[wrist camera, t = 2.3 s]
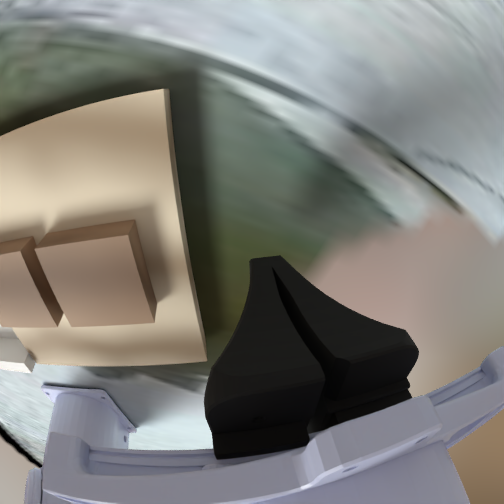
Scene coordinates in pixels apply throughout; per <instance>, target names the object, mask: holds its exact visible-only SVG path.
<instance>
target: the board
mask: <svg viewBox="0 0 504 504" xmlns="http://www.w3.org/2000/svg"><path fill="white" fill-rule="evenodd" d="M133 219H135V221H136V226H137V230H138V234H139V238H140V242H141V246H142V250H143V254H144V258H145V262H146V266H147V269H148V273H149V277H150V280H151V284H152V287H153V291H154V294H155V297H156V301H157V309H156V316H155V323H146V324H132V325H114V326H93V327H71V325H70V324H69V322H68V320H67V318H66V316H65V314H63V316H62V319H61V321H60V323H59V326H58V327H56V328H17V327H12V329H13V331H14V332H15V334H16V335H17V337H18V338H19V340H20V341H21V343H22V344H23V345H24V347H25V348H26V350H27V351H28V352H29V354H30V355H31V357H32V358H33V359H34V361H35V362H36V363H37V364H48V365H67V366H145V365H165V364H180V363H193V362H204V361H207V351H206V338H205V333H204V329H203V324H202V319H201V314H200V309H199V304H198V299H197V294H196V289H195V283H194V278H193V272H192V267H191V261H190V255H189V249H188V243H187V237H186V231H185V224H184V218H183V211H182V204H181V196H180V189H179V181H178V173H177V165H176V156H175V147H174V138H173V128H172V117H171V105H170V92H169V89H159V90H153V91H147V92H141V93H136V94H131V95H126V96H121V97H117V98H113V99H108V100H104V101H100V102H96V103H92V104H89V105H85V106H82V107H78V108H75V109H71V110H68V111H65V112H62V113H59V114H56V115H53V116H50V117H47V118H44V119H41V120H39V121H36V122H33V123H31V124H28V125H26V126H23V127H21V128H18V129H16V130H13V131H11V132H9V133H7V134H4V135H2V136H0V242H5V241H10V240H15V239H20V238H25V237H30V236H33V237H34V240H35V242H36V245H38V244H39V242H40V241H41V240H42V239H43V238H44V236H45V235H46V234H47V233H51V232H57V231H63V230H68V229H74V228H80V227H86V226H93V225H99V224H106V223H112V222H119V221H126V220H133Z"/></svg>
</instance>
